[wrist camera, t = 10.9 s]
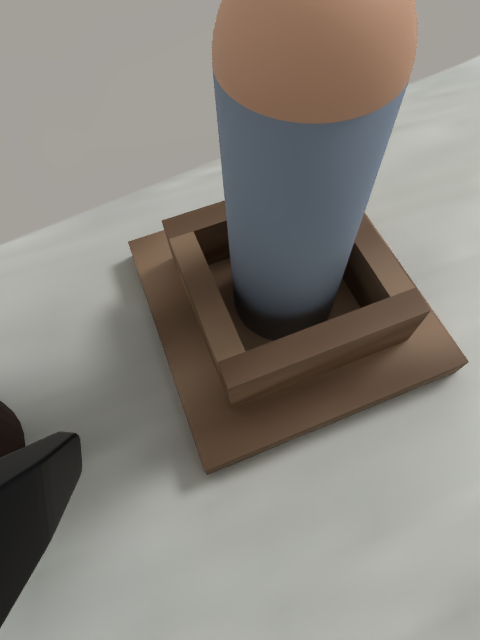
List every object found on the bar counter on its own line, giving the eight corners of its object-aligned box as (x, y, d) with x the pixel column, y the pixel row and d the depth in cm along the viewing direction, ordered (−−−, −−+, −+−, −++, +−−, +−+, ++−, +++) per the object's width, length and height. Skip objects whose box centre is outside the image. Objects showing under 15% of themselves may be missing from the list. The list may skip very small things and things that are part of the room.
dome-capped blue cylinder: (351, 290, 21) (500, -86, 8) (293, 361, 20) (366, 29, 7) (274, 241, 23) (297, -138, 10) (213, 303, 21) (149, -55, 8)
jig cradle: (457, 370, 20) (502, 334, 17) (207, 474, 19) (195, 459, 15) (334, 188, 26) (347, 130, 22) (133, 254, 24) (111, 203, 20)
